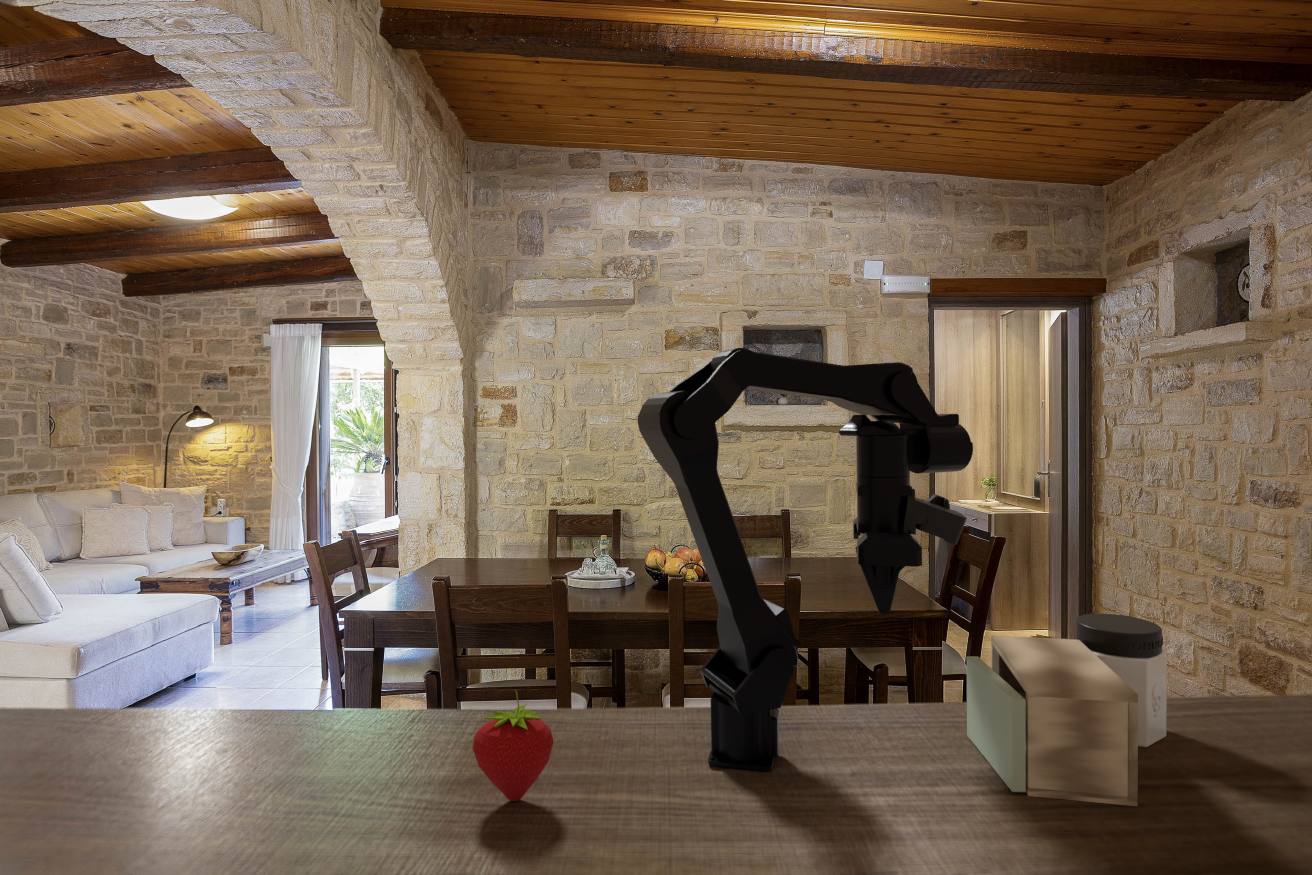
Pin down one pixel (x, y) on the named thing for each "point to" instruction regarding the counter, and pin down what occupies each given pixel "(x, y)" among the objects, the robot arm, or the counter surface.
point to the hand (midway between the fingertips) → (884, 613)
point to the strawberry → (513, 750)
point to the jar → (1132, 664)
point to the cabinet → (1072, 720)
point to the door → (997, 722)
